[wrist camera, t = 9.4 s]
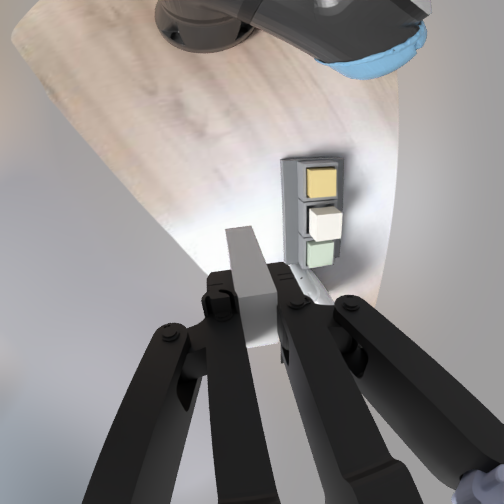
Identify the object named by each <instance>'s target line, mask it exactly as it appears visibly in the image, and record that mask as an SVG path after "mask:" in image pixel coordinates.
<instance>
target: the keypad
mask: <svg viewBox="0 0 504 504" xmlns="http://www.w3.org/2000/svg"><path fill="white" fill-rule="evenodd" d="M280 164H281V184H282V209H283V241H284V262H285V264H287V265H290V264H297V263H299V264H300V266H301V267H302V269H310V268H309V266H308V265H307V263H306V241H312V240H314V239H313V237H312V236H311V235H310V234H309V209H311V208H321V207H332V206H334V207H336V208H337V209H338V210H339V211H341V212H342V208H343V176H344V159H343V158H340V157H329V158H302V159H285V160H280ZM325 166H329V167H332V168H334V169H336V196H331V197H318V198H310V197H309V196H308V195H306V167H325ZM332 241H333V242H334V250H333V263H332V265H334V258H336V257H339V254H340V242H341V238H340V239H333V240H332ZM326 266H329V265H326ZM320 267H322V266H320ZM314 268H316V267H314Z"/></svg>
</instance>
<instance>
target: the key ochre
mask: <svg viewBox="0 0 504 504" xmlns="http://www.w3.org/2000/svg"><path fill="white" fill-rule="evenodd" d="M306 195H308V196H309V197H310V198H318V197H331V196H336V169H334V168H332V167H329V166H325V167H306Z"/></svg>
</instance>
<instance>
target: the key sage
mask: <svg viewBox="0 0 504 504" xmlns="http://www.w3.org/2000/svg"><path fill="white" fill-rule="evenodd" d="M333 250H334V242H333V241H332V240H325V241H318V242H316V241H315V240H312V241H306V263H307V265H308V266H309V268H314V267H320V266H326V265H332V263H333Z"/></svg>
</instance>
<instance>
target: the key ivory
mask: <svg viewBox="0 0 504 504" xmlns="http://www.w3.org/2000/svg"><path fill="white" fill-rule="evenodd" d="M342 214H343V213H342V212H341V211H339V210H338V209H337V208H336V207H334V206H332V207H321V208H311V209H309V234H310V235H311V236H312V237H313V239H314V240H315V241H316V242H318V241H325V240H333V239H340V238H341V231H342Z"/></svg>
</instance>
